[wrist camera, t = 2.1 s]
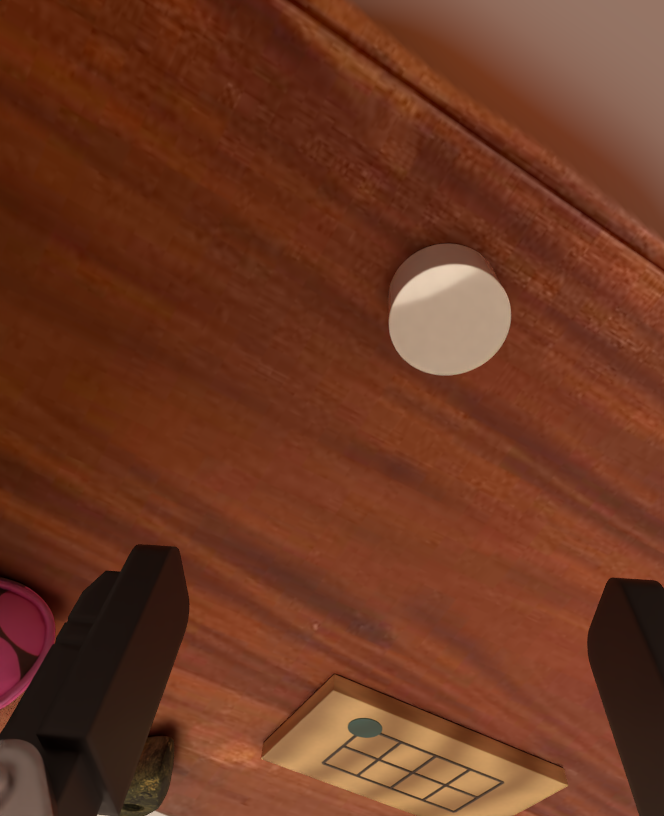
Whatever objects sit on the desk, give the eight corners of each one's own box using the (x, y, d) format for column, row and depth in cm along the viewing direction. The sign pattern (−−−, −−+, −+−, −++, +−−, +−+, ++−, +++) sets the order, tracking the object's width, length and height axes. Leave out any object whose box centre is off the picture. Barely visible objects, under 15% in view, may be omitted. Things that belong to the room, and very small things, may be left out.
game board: (263, 742, 44) (260, 760, 43) (334, 673, 38) (333, 691, 37) (473, 820, 48) (475, 838, 47) (564, 768, 42) (568, 786, 41)
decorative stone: (171, 792, 49) (155, 848, 46) (116, 781, 49) (96, 837, 45) (184, 721, 43) (167, 779, 39) (121, 708, 42) (99, 765, 39)
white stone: (367, 314, 24) (366, 340, 22) (429, 221, 22) (434, 239, 20) (454, 365, 25) (461, 394, 23) (522, 280, 23) (537, 304, 21)
